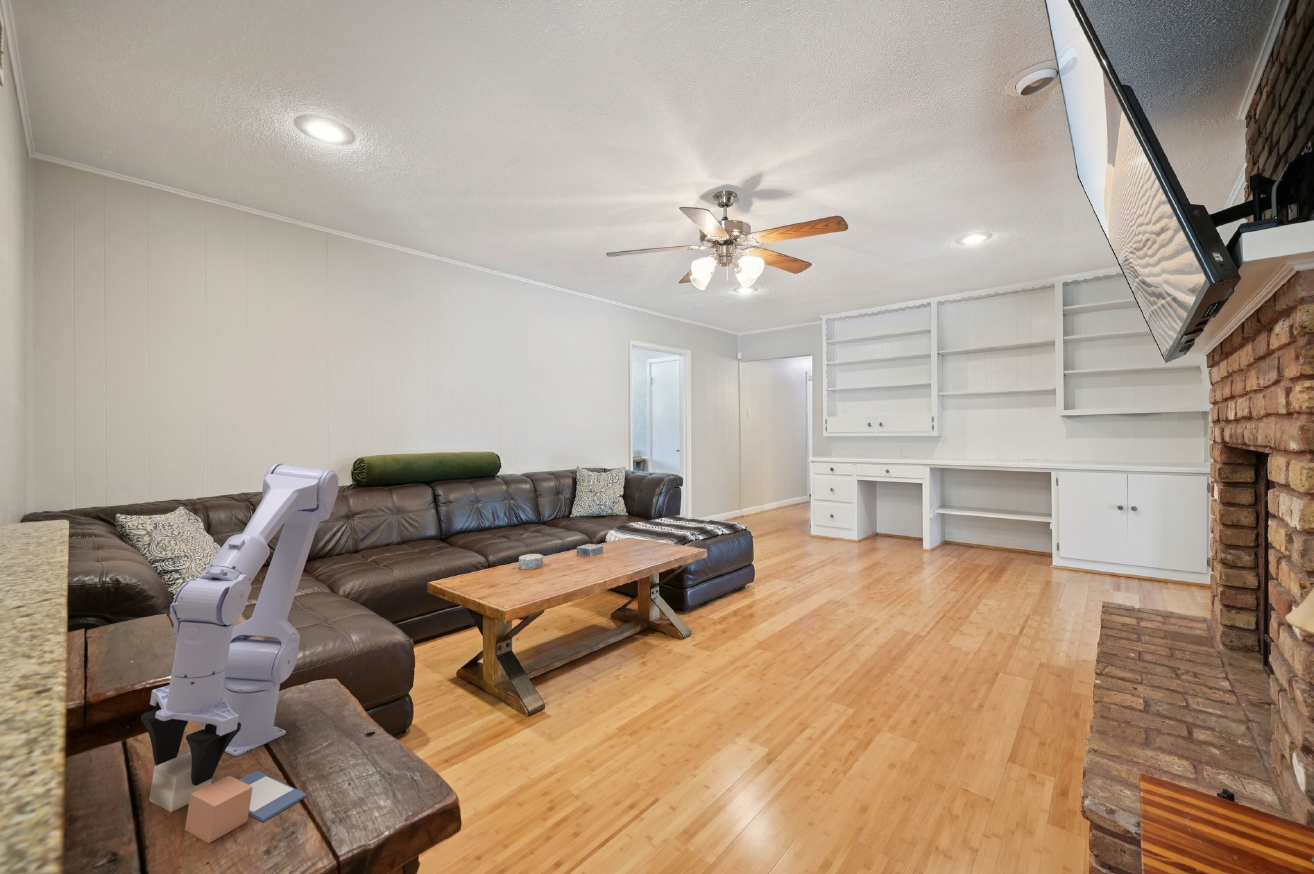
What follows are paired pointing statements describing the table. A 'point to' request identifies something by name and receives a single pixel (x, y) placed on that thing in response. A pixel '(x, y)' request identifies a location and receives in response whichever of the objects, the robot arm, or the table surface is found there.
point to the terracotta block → (218, 808)
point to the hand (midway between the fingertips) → (183, 771)
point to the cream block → (174, 783)
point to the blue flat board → (269, 796)
